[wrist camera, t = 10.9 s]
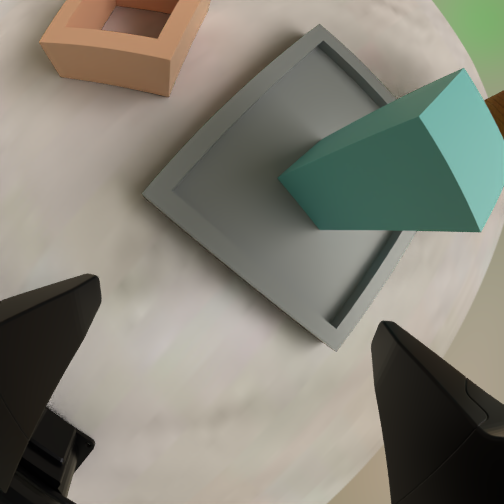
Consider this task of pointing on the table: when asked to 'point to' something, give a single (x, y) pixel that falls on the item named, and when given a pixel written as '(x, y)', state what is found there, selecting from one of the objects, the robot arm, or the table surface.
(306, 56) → the tray
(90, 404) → the table surface
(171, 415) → the table surface
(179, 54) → the holder
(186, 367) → the table surface
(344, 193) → the teal block
